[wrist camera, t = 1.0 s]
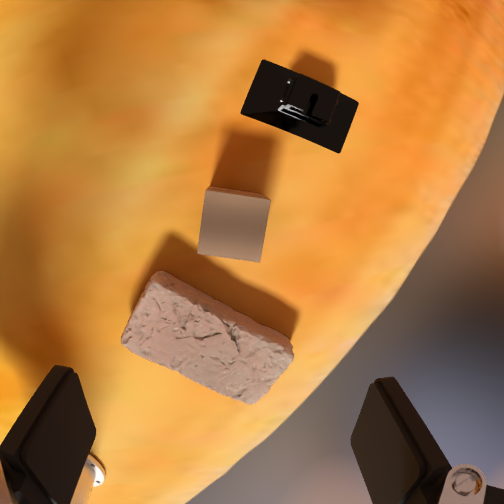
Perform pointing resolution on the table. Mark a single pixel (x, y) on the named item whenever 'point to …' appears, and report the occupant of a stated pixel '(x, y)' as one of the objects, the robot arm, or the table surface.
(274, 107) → the black piece
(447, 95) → the table surface
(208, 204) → the brown wooden block
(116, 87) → the table surface
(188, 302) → the brick
